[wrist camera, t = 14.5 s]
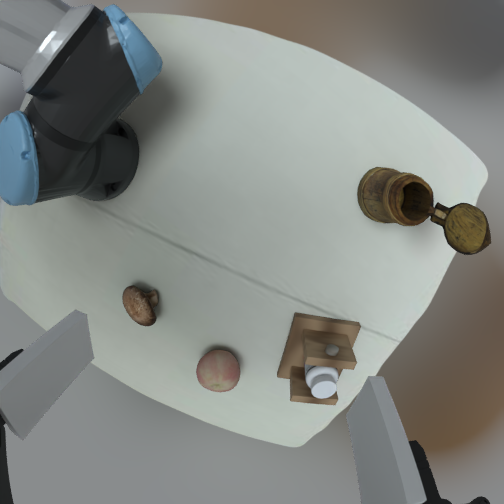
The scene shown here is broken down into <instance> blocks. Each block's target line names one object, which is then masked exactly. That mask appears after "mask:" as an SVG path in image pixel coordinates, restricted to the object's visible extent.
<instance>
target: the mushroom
mask: <svg viewBox="0 0 504 504" xmlns="http://www.w3.org/2000/svg"><path fill="white" fill-rule="evenodd" d="M123 304H124V307H125V309H126V311H127V313H128V314H129V316H130V317H131V318H132V319H133V320H134V321H135V322H137V323H138V324H140V325H143V326H151V325H153V324H154V323H155V321H156V315H155V312H154V307H155V306H156V305H157V304H158V296H157V293H156V291H155V290H153V291H151V292H150V293H144V292H142V291H141V290H140V289H139V288H137V287H135V286H129V287H127V288H126V289H125V290H124V292H123Z"/></svg>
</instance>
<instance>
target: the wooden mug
mask: <svg viewBox="0 0 504 504" xmlns="http://www.w3.org/2000/svg"><path fill="white" fill-rule="evenodd" d="M357 195H358V203H359V205H360V208H361V210H362V211H363V213H364V214H365V215H366V216H367V217H368V218H370V219H372V220H374V221H377V222H381V223H398V224H400V225H403V226H415V225H418V224H420V223H422V222H424V221H425V220H426V219H427V218H428V217H429V216H431V219H430V220H431V221H432V222H434V223H436V224H438V225H440V226H442V227H443V229H444V235H445V237H446V240H447V243H448V244H449V245H450V246H451V247H452V248H453V249H454V250H456V251H457V252H459V253H462V254H466V255H472V254H476V253H478V252H480V251H482V250H483V249H484V248H486V247H487V246H488V245H489V244H491V236H490V230H489V224H488V221H487V218H486V216H485V214H484V213H483V212H482V211H481V210H480V209H478V208H477V207H475V206H472V205H470V204H468V203H460V204H457V205H455V206H453V207H451V208H448V207H446V206H443V205H441V204H440V203H438V202H437V204H436V206H435V208H434V207H433V202H434V200H433V192H432V189H431V187H430V186H429V184H427V183H426V182H425V181H424V180H423V179H422V178H421V177H419V176H416V175H414V174H411V173H404V172H403V173H401V172H399V171H397V170H394V169H390V168H381V167H376V168H373V169H371V170H369V171H368V172H367V173H366V174H365V175H364V176H363V178H362V179H361V181H360V184H359V187H358V194H357Z"/></svg>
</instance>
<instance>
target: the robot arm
mask: <svg viewBox="0 0 504 504" xmlns="http://www.w3.org/2000/svg"><path fill="white" fill-rule="evenodd" d="M0 64H2V65H4V66H6V67H8V68H11V69H13V70H15V71H17V72H19V73H20V74H21V76H22V81H23V89H24V91H25V92H26V93H29V94H31V95H33V98H32V99H31V101H30V103H29V104H28V106H27V107H26V109H25V111H24V112H21V111H15V112H12V113H10V114H9V115H7V116H6V117H5V118H4V119H3V121H2V122H1V124H0V196H1V198H2V199H3V200H4V201H5V202H6V203H7V204H9V205H13V206H18V205H25V204H26V205H32V204H34V203H38V202H42V201H46V200H51V199H56V198H60V197H65V196H71V195H78V196H80V197H83V198H86V199H89V200H93V201H102V200H107V199H111V198H114V197H116V196H117V195H119V194H120V193H122V192H123V191H124V190H125V189H126V188H127V186H128V185H129V184H130V182H131V180H132V179H133V177H134V174H135V172H136V169H137V165H138V158H139V148H138V142H137V138H136V136H135V133H134V131H133V130H132V128H131V127H130V126H129V125H128V124H127V123H126V122H124V121H122V120H120V119H117V118H118V117H119V115H120V114H121V113H122V112H123V111H124V110H125V109H126V108H127V107H128V106H129V105H130V103H131V102H132V101H133V100H134V99H135V98H136V97H137V96H138V95H139V94H140V95H141V94H142V93H143V91H144V89H145V88H146V86H147V85H148V84H149V83H150V82H151V81H152V80H153V79H154V78H155V77H156V76H157V75H158V74H159V73H160V71H161V69H162V59H161V57H160V55H159V54H158V53H157V51H156V50H155V48H154V47H153V46H152V44H151V43H150V42H149V41H148V39H147V38H146V37H145V36H144V34H143V33H142V32H141V31H140V30H139V28H138V27H137V26H136V25H135V24H134V23H133V22H132V21H131V20H130V19H129V18H128V17H127V16H126V15H125V13H124V12H123V11H122V10H121V9H120V8H119V7H118V6H116V5H114V4H113V5H110V6H108V7H105V8H104V10H103V11H101V10H99V9H98V8H97V7H95V6H94V5H93V4H89V5H84V6H80V7H70V6H69V5H67V4H66V3H64V2H63V1H61V0H0ZM93 359H94V355H93V349H92V344H91V338H90V332H89V326H88V319H87V314H85V313H82V312H80V311H77V310H74V311H73V312H72V313H70V314H69V315H68V316H67V317H65V318H64V319H63V320H61V321H60V322H59V323H57V324H56V325H55V326H54V327H52V328H51V329H50V330H49V331H47V332H46V333H45V334H44V335H42V336H41V337H40V338H39V339H37V340H36V341H35V342H34V343H32V344H31V345H30V346H29V347H28V348H26V349H25V350H23V349H20V350H18V351H15V352H13V353H11V354H10V355H9V356H8V357H7V358H6V359H5V360H3V361H2V362H1V363H0V504H14V503H13V499H12V494H11V488H10V482H9V475H8V466H7V456H6V439H5V428H4V426H3V425H4V424H5V423H6V424H7V425H8V427H9V428H10V430H11V431H12V432H13V433H14V434H15V435H17V436H18V437H19V438H20V439H21V440H24V439H25V438H26V436H27V435H28V434H29V433H30V431H31V430H32V429H33V427H34V426H35V425H36V424H37V423H38V422H39V420H40V419H41V418H42V417H43V416H44V414H45V413H46V412H47V411H48V410H49V409H50V407H51V406H52V405H53V404H54V403H55V401H56V400H57V399H58V398H59V397H60V396H61V395H62V393H63V392H64V391H65V390H66V389H67V388H68V387H69V385H70V384H71V383H72V382H73V381H74V380H75V379H76V378H77V376H78V375H79V374H80V373H81V372H82V371H83V370H84V369H85V368H86V366H87V365H88V364H89V363H90V362H91V361H92V360H93ZM346 417H347V422H348V427H349V432H350V437H351V442H352V448H353V453H354V459H355V465H356V470H357V476H358V483H359V490H360V495H361V504H452V503H451V502H450V501H448V500H447V499H441V497H440V495H439V493H438V490H437V487H436V484H435V480H434V478H433V475H432V472H431V469H430V468H429V463H428V461H427V460H426V458H427V457H426V455H425V452H424V449H423V448H422V447H421V446H420V444H419V443H418V442H417V441H416V440H415V441H408V439H407V436H406V434H405V431H404V428H403V426H402V423H401V420H400V418H399V415H398V413H397V410H396V407H395V405H394V402H393V400H392V397H391V395H390V392H389V390H388V388H387V385H386V383H385V380H384V378H383V377H375V376H368V378H367V380H366V382H365V384H364V386H363V387H362V389H361V391H360V393H359V395H358V396H357V398H356V400H355V401H354V403H353V405H352V406H351V408H350V410H349V412H348V413H347V415H346ZM468 504H490V502H489V501H488V500H487V499H486V498H485V497H477V498H476V499H474V500H473V501H471V502H470V503H468Z"/></svg>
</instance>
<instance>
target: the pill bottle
mask: <svg viewBox="0 0 504 504" xmlns="http://www.w3.org/2000/svg"><path fill="white" fill-rule="evenodd" d="M304 367H305V379H306V383H307V385H308V386H309V387H310V388H311V392H312V395H313V396H314V397H316V398H321V399H323V398H328V397H330V396H332V395H333V394H334V393H335V392H336V390H337V385H336V382H337V380H338V370H337V368H331V367H322V366H314V365H306V364H305V362H304Z"/></svg>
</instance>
